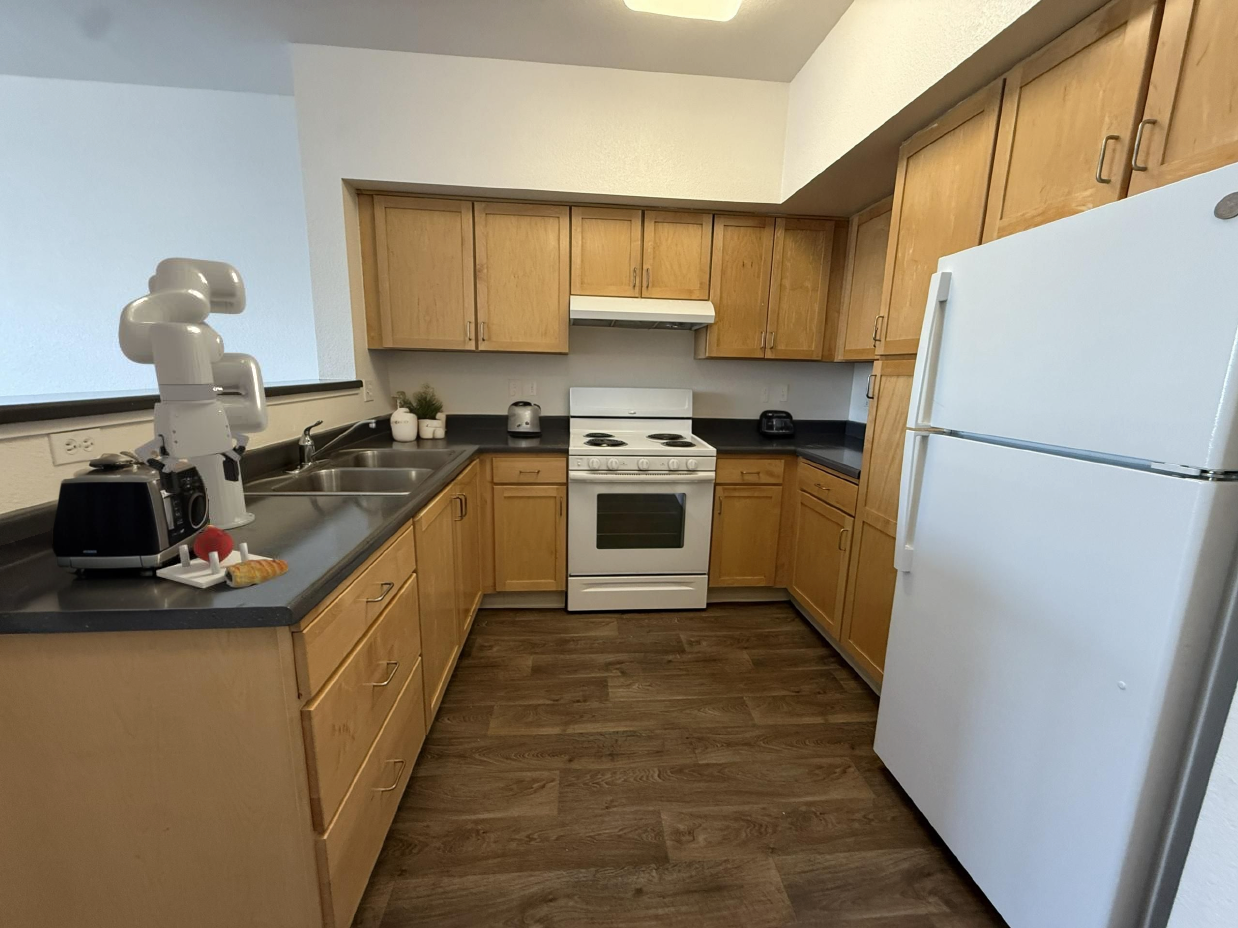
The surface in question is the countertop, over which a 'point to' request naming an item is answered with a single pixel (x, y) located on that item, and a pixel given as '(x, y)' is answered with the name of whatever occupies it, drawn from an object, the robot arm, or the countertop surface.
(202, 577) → the pin tray
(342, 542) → the countertop surface
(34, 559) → the countertop surface
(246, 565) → the pastry
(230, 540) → the onion
